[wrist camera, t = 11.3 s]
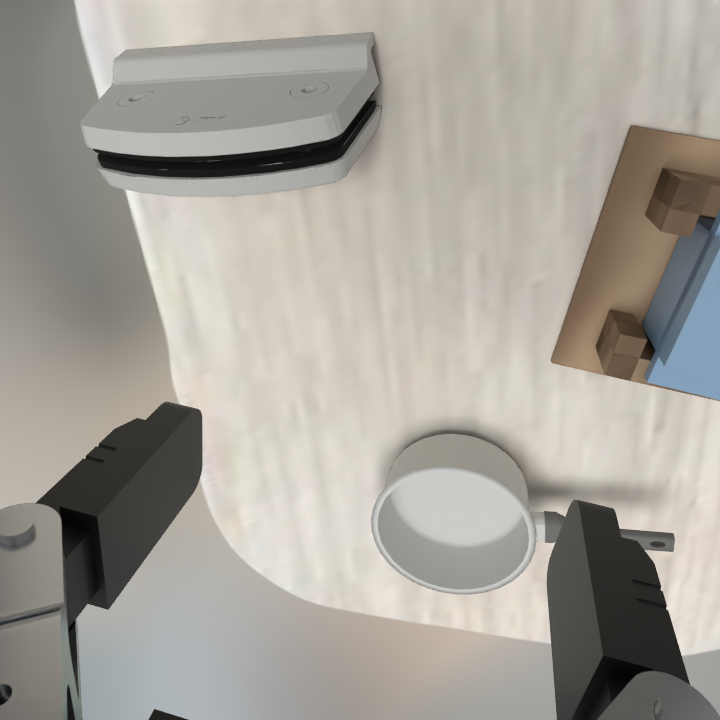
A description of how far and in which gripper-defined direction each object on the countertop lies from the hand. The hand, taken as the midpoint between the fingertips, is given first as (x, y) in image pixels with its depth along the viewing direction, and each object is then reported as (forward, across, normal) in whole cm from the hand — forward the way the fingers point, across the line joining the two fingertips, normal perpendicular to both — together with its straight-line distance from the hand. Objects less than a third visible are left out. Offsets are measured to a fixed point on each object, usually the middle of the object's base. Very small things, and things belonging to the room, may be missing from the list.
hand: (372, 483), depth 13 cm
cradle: (+28, -15, +2) cm, 31 cm away
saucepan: (+28, -8, +20) cm, 35 cm away
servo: (+27, -15, +2) cm, 31 cm away
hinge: (+28, +14, -4) cm, 32 cm away
